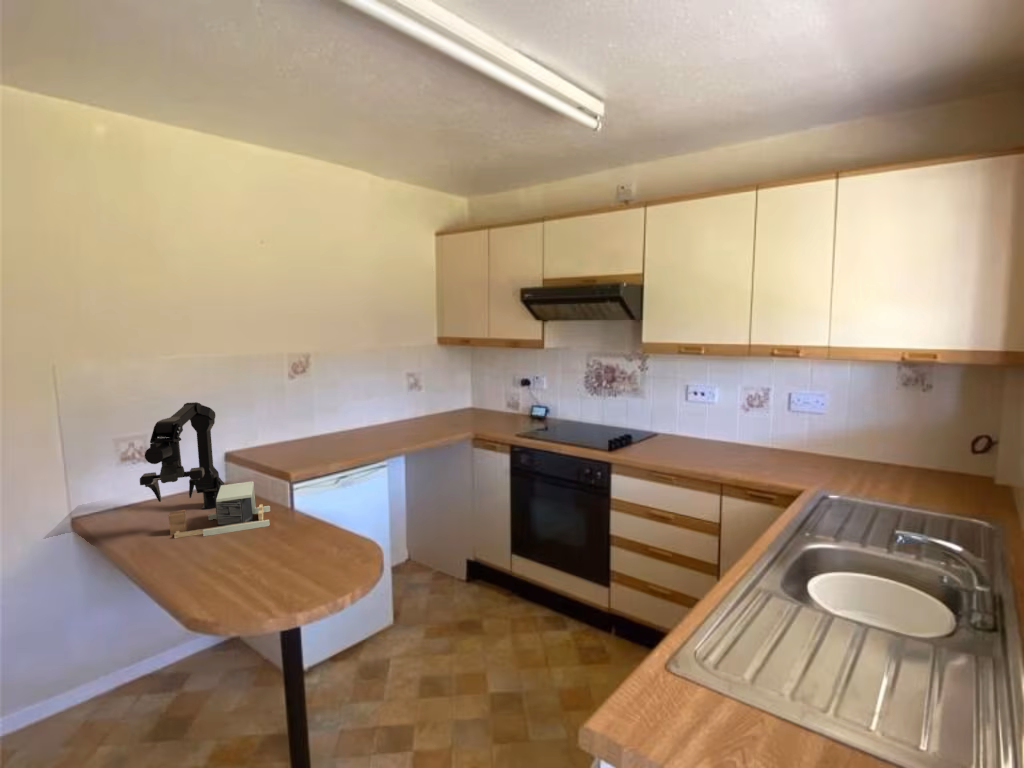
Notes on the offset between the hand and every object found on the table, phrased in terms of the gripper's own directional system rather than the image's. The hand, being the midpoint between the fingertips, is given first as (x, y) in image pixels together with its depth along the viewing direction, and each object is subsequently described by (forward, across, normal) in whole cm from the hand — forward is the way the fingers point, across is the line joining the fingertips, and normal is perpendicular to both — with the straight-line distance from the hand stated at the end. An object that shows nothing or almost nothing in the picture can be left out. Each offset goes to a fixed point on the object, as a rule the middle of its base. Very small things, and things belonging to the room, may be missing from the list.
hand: (175, 499), depth 192 cm
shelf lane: (+12, +19, 0) cm, 22 cm away
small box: (+12, +18, 0) cm, 22 cm away
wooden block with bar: (+12, +13, 0) cm, 17 cm away
